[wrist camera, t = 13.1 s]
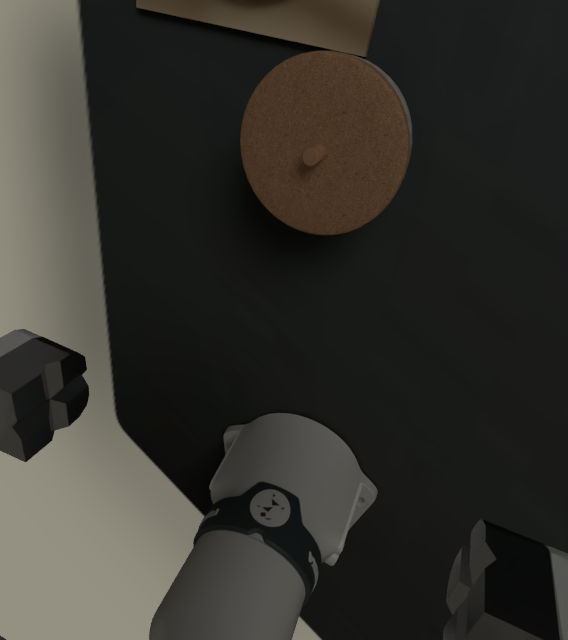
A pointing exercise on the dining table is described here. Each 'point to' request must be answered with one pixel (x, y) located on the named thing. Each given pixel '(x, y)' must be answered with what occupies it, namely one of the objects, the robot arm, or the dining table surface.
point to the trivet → (285, 19)
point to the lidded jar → (326, 141)
